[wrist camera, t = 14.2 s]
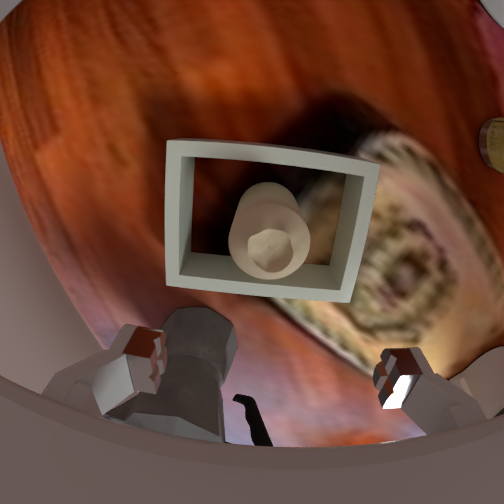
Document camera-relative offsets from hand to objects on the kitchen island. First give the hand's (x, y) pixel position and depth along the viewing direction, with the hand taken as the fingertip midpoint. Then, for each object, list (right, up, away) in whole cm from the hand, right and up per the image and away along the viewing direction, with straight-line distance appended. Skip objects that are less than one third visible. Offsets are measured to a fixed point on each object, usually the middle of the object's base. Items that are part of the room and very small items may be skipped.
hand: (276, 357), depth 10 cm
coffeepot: (-6, -6, +24) cm, 26 cm away
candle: (+1, +8, +18) cm, 20 cm away
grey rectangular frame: (0, +8, +18) cm, 19 cm away
